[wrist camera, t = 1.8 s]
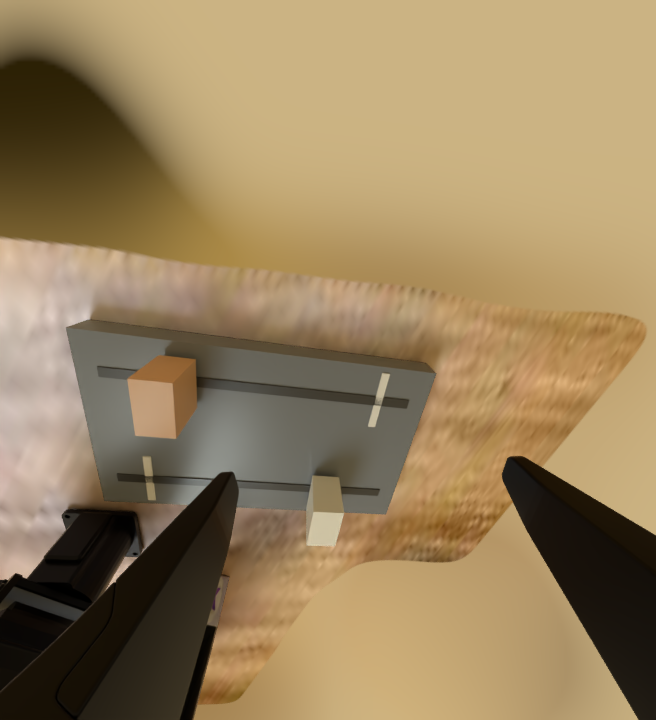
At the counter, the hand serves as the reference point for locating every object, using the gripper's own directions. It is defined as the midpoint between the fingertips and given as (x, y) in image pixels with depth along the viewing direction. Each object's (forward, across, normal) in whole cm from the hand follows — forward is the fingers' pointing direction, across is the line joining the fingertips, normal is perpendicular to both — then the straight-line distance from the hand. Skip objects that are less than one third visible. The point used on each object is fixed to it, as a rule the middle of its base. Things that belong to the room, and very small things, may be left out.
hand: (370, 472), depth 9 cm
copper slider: (+10, +12, +2) cm, 16 cm away
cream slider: (+10, +2, +14) cm, 18 cm away
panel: (+13, +7, +8) cm, 17 cm away
